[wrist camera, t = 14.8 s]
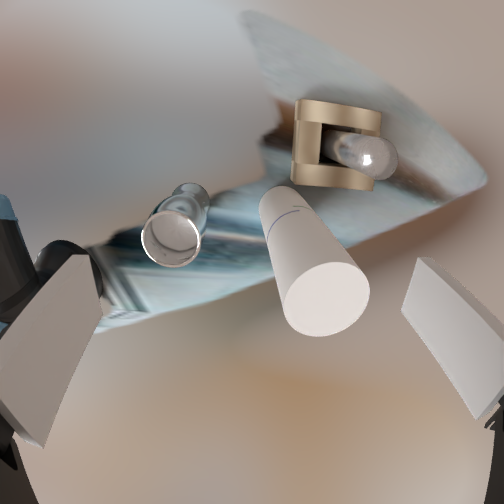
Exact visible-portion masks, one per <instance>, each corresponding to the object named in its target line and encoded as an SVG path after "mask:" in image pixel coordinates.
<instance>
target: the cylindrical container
mask: <svg viewBox="0 0 504 504" xmlns="http://www.w3.org/2000/svg"><path fill="white" fill-rule="evenodd" d="M259 215H260V219H261V223H262V227H263V230H264V234H265V238H266V242H267V246H268V250H269V254H270V258H271V262H272V266H273V270H274V274H275V278H276V281H277V286H278V290H279V294H280V298H281V302H282V306H283V310H284V314H285V317H286V319H287V321H288V323H289V324H290V325H291V327H293V328H294V329H295V330H296V331H298V332H300V333H302V334H305V335H309V336H317V337H318V336H328V335H332V334H335V333H338V332H340V331H342V330H344V329H346V328H347V327H349V326H350V325H351V324H353V323H354V322H355V321H356V320H357V319H358V318H359V317H360V315H361V314H362V313H363V311H364V310H365V308H366V305H367V303H368V299H369V293H370V288H369V283H368V281H367V278H366V276H365V275H364V274H363V272H362V271H361V270H360V268H359V267H358V266H357V264H356V263H355V262H354V260H353V259H352V258H351V257H350V255H349V254H348V253H347V251H346V250H345V249H344V247H343V246H342V245H341V244H340V242H339V241H338V240H337V239H336V237H335V236H334V235H333V234H332V232H331V231H330V230H329V229H328V227H327V226H326V225H325V224H324V223H323V221H322V220H321V219H320V218H319V217H318V215H317V214H316V213H315V212H314V211H313V209H312V208H311V207H310V206H309V205H308V203H307V202H306V201H305V200H304V199H303V198H302V196H301V195H300V194H299V193H298V192H297V191H296V190H294V189H293V188H290V187H287V186H278V187H274V188H272V189H270V190H268V191H267V192H266V193H265V194H264V195H263V197H262V198H261V200H260V203H259Z"/></svg>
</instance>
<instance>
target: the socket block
mask: <svg viewBox="0 0 504 504" xmlns="http://www.w3.org/2000/svg"><path fill="white" fill-rule="evenodd" d="M381 115H382V113H381V112H377V111H372V110H367V109H362V108H357V107H352V106H346V105H341V104H335V103H328V102H321V101H314V100H306V99H300V100H297V101H296V103H295V120H294V135H293V149H292V163H291V175H290V179H291V180H292V181H293V183H294V184H295V185H309V186H323V187H335V188H346V189H357V190H367V191H373V186H374V179H373V178H371V177H369V176H367V175H365V174H362V173H360V172H358V171H356V170H354V169H352V168H350V167H348V166H345V165H343V164H335V163H325V162H319V153H320V141H321V128H322V124H330V125H337V126H344V127H350V128H351V133H356V134H362V135H367V136H373V137H378V138H380V127H381Z"/></svg>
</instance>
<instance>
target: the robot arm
mask: <svg viewBox="0 0 504 504" xmlns="http://www.w3.org/2000/svg"><path fill="white" fill-rule="evenodd" d="M102 288H103V284H102V278H101V274H100V271H99V269H98V267H97V265H96V263H95V262H94V260H93V259H92V258H91V256H90V255H89V254H88V253H87V252H86V251H85V250H84V249H82V248H81V247H80V246H78V245H76V244H74V243H72V242H69V241H65V240H56V241H53V242H51V243H49V244H48V245H47V246H46V247H44V248H43V249H42V250H41V251H40V252H39V254H38V256H37V258H36V260H35V264H34V265H33V262H32V260H31V258H30V255H29V252H28V250H27V247H26V245H25V242H24V239H23V236H22V234H21V231H20V228H19V225H18V219H17V218H16V217H15V214H14V211H13V209H12V206H11V203H10V200H9V199H8V198H7V196H5V195H2V194H0V504H39V503H38V501H37V499H36V496H35V494H34V492H33V489H32V487H31V485H30V482H29V479H28V477H27V474H26V471H25V469H24V465H23V462H22V459H21V456H20V453H19V450H18V447H17V444H16V442H15V440H14V439H13V438H12V436H13V433H14V431H15V432H16V433H17V434H18V435H19V436H20V437H21V438H22V439H23V440H24V441H25V442H27V443H30V444H32V445H35V446H37V447H40V448H44V446H45V443H46V440H47V438H48V435H49V432H50V430H51V427H52V424H53V421H54V419H55V416H56V414H57V411H58V409H59V406H60V404H61V402H62V399H63V397H64V394H65V392H66V389H67V387H68V385H69V383H70V380H71V378H72V376H73V374H74V372H75V370H76V367H77V365H78V363H79V361H80V359H81V356H82V355H83V352H84V351H85V348H86V347H87V345H88V342H89V341H90V339H91V336H92V335H93V333H94V331H95V329H96V327H97V325H98V323H99V321H100V319H101V317H102V315H103V312H102V309H101V306H100V301H99V299H100V297H101V294H102ZM401 312H402V313H403V315H404V316H405V317H406V318H407V320H408V321H409V323H410V324H411V325H412V327H413V328H414V329H415V331H416V332H417V333H418V335H419V336H420V338H421V339H422V340H423V342H424V343H425V344H426V346H427V347H428V349H429V350H430V351H431V353H432V354H433V356H434V357H435V359H436V360H437V361H438V363H439V364H440V366H441V367H442V369H443V370H444V372H445V373H446V375H447V376H448V377H449V379H450V380H451V382H452V384H453V385H454V387H455V388H456V390H457V391H458V393H459V394H460V396H461V398H462V399H463V400H464V402H465V404H466V406H467V407H468V409H469V410H470V412H471V414H472V415H473V417H474V419H475V420H477V419H479V418H481V417H483V416H485V415H487V414H488V413H489V412H490V411H491V410H492V409H493V407H494V406H495V405H496V404H497V402H499V404H500V405H501V406H500V407H499V409H498V410H497V411H496V412H495V413H494V415H493V416H492V417H491V418H490V419H489V420H488V421H487V423H486V424H485V427H484V428H487V427H488V426H489V425H490V424H491V423H492V422H493V421H495V423H494V424H493V425H492V426H491V427H490V430H494V431H495V438H494V448H493V456H492V464H491V471H490V477H489V482H488V487H487V492H486V497H485V501H484V504H504V325H503V324H502V323H501V322H500V321H499V320H498V319H497V318H496V317H495V316H494V315H493V314H492V313H491V312H490V311H489V310H488V309H487V308H486V307H485V306H484V305H483V304H482V303H481V302H480V301H479V300H478V299H477V298H476V297H475V296H474V295H473V294H472V293H471V292H470V291H469V290H467V289H466V288H465V287H464V286H463V285H462V284H461V283H460V282H459V281H458V280H456V279H455V278H454V277H453V276H452V275H451V274H450V273H448V272H447V271H446V270H445V269H444V268H443V267H441V266H440V265H439V264H438V263H437V262H436V261H434V260H433V259H432V258H431V257H418V258H417V262H416V265H415V269H414V272H413V275H412V279H411V282H410V285H409V288H408V291H407V294H406V297H405V300H404V303H403V306H402V309H401Z"/></svg>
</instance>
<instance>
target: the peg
mask: <svg viewBox="0 0 504 504" xmlns="http://www.w3.org/2000/svg"><path fill="white" fill-rule="evenodd" d="M320 152H321V153H322V154H323V155H324V156H325V157H328V158H330V159H332V160H334V161H337V162H339V163H341V164H343V165H345V166H348V167H350V168H352V169H354V170H356V171H358V172H360V173H362V174H365V175H367V176H369V177H371V178H373V179H376V180H384V179H386V178H388V177H390V176H391V175H392V174H393V173H394V171H395V170H396V167H397V164H398V154H397V151H396V148H395V147H394V145H393V144H392V143H391V142H390V141H388V140H386V139H383V138H378V137H373V136H367V135H362V134H356V133H349V132H342V131H335V130H328V131H325V132H324V133H322V134H321V141H320Z"/></svg>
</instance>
